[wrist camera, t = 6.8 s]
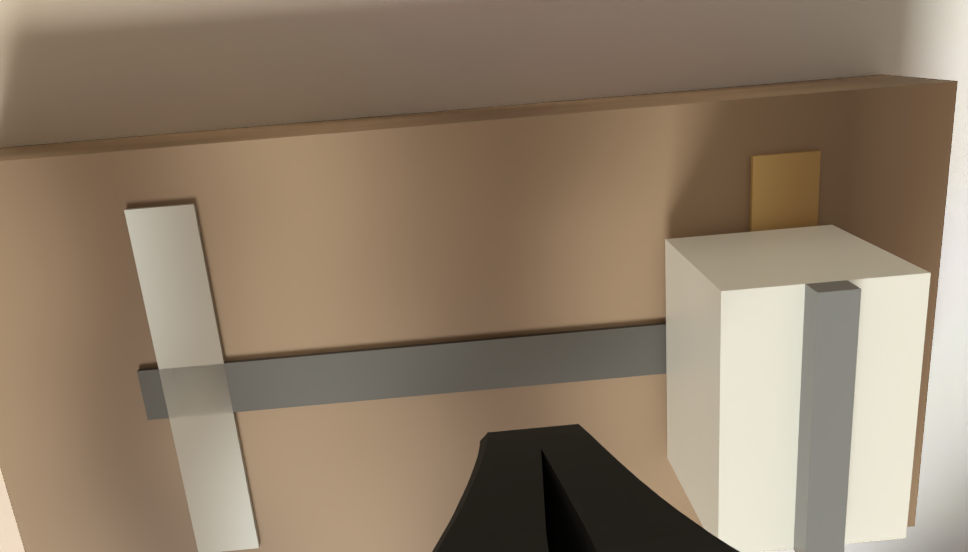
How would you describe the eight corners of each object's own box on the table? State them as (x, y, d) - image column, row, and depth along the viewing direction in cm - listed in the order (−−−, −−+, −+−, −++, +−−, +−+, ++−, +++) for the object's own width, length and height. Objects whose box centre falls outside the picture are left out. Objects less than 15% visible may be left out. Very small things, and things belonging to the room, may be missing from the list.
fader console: (94, 533, 18) (39, 611, 16) (-6, 148, 16) (-91, 169, 13) (855, 463, 19) (917, 528, 16) (881, 74, 16) (960, 81, 14)
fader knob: (667, 458, 15) (726, 572, 12) (665, 239, 14) (730, 300, 11) (820, 443, 15) (920, 554, 12) (831, 224, 14) (948, 281, 11)
